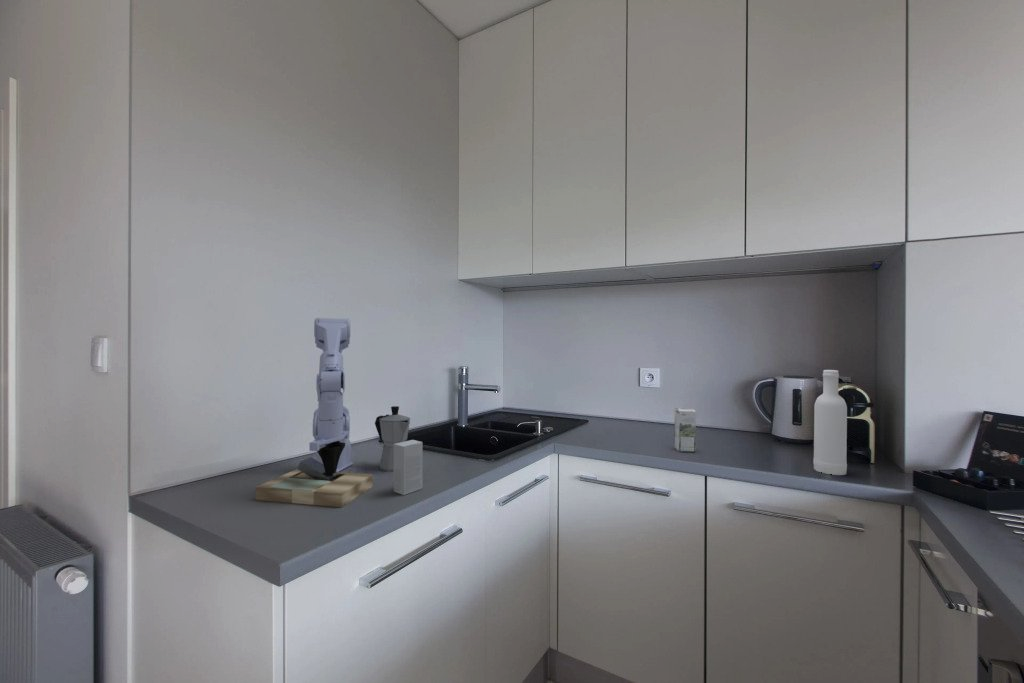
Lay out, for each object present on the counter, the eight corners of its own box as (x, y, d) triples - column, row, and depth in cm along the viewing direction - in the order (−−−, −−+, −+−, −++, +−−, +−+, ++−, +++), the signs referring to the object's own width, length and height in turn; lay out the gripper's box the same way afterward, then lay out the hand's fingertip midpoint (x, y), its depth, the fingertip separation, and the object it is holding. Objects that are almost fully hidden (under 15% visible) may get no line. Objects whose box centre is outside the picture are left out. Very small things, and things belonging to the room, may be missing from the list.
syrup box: (690, 448, 151) (690, 407, 151) (696, 452, 145) (696, 410, 145) (674, 447, 151) (674, 407, 151) (678, 452, 146) (679, 410, 146)
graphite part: (307, 464, 109) (310, 457, 109) (336, 481, 108) (339, 473, 108) (297, 469, 105) (300, 461, 105) (326, 486, 104) (330, 478, 104)
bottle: (846, 477, 119) (847, 371, 119) (812, 471, 124) (813, 370, 124) (846, 470, 126) (847, 370, 126) (814, 465, 131) (815, 368, 131)
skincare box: (412, 485, 109) (412, 439, 109) (423, 489, 107) (423, 441, 107) (392, 491, 105) (392, 443, 105) (402, 495, 102) (403, 446, 102)
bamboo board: (296, 480, 112) (296, 467, 112) (372, 486, 108) (373, 473, 108) (255, 499, 98) (255, 485, 98) (341, 507, 95) (341, 492, 95)
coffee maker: (420, 467, 125) (421, 406, 125) (397, 474, 118) (397, 410, 118) (387, 459, 134) (387, 402, 134) (363, 465, 126) (364, 405, 126)
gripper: (332, 413, 114) (332, 464, 114) (297, 423, 99) (297, 481, 99) (356, 414, 113) (356, 465, 113) (325, 424, 98) (325, 482, 98)
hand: (330, 473), depth 106 cm, fingers closed, pressing on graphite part
